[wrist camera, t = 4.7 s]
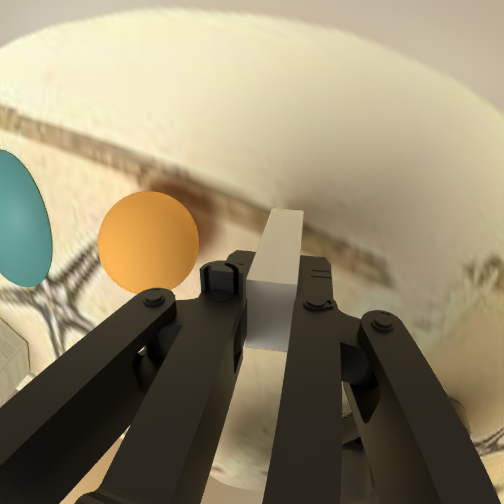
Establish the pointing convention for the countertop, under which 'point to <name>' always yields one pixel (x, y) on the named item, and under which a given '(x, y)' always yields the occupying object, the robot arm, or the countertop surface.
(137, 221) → the ball
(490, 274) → the countertop surface
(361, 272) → the countertop surface
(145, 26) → the countertop surface
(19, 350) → the supplement box
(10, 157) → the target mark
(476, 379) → the countertop surface
